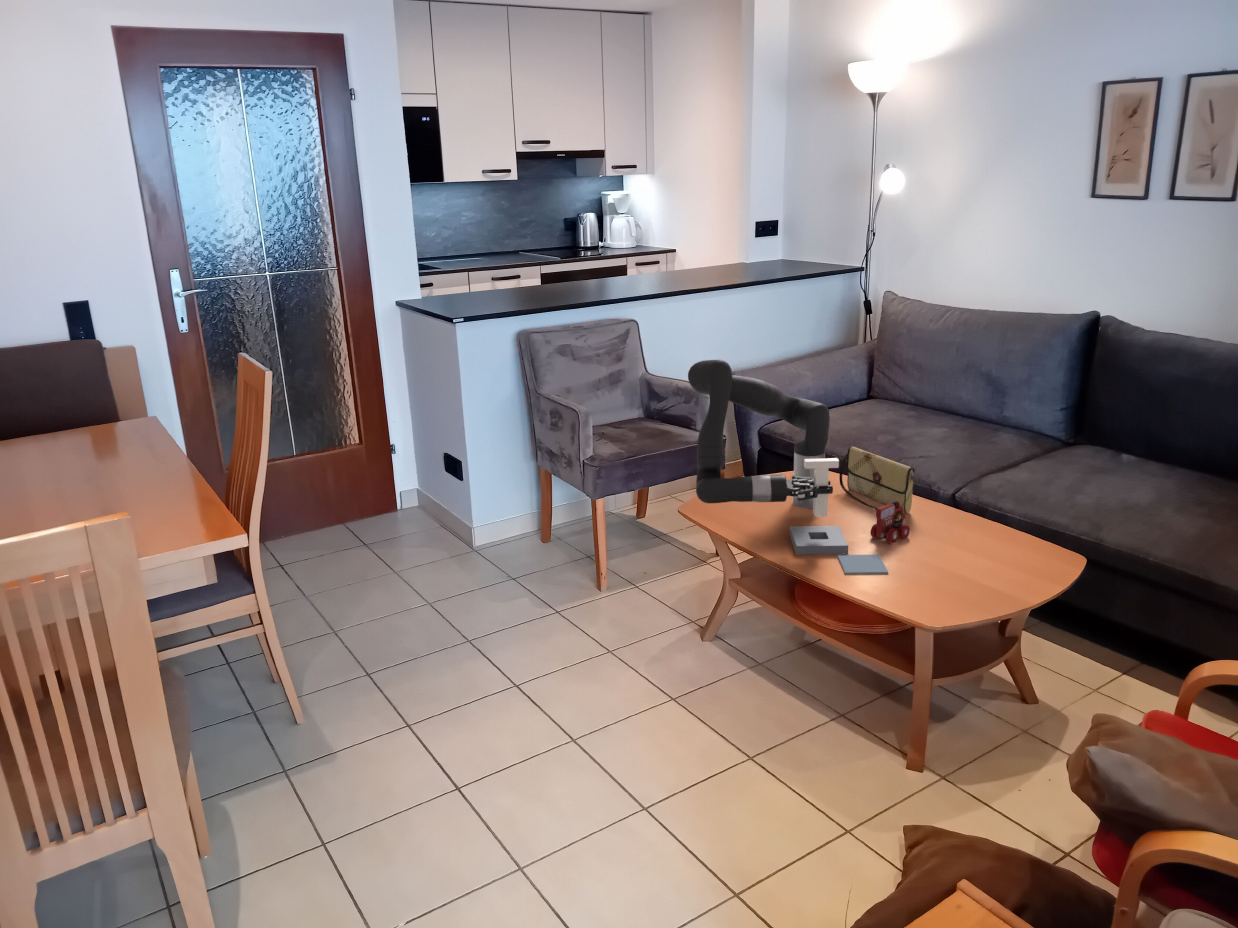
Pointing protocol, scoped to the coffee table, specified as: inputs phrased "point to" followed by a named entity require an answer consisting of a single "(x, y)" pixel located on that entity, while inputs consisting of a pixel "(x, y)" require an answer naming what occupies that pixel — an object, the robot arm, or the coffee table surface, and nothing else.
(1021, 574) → the coffee table surface
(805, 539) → the socket block
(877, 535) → the toy fire truck
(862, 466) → the clutch purse
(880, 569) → the mat
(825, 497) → the t key
